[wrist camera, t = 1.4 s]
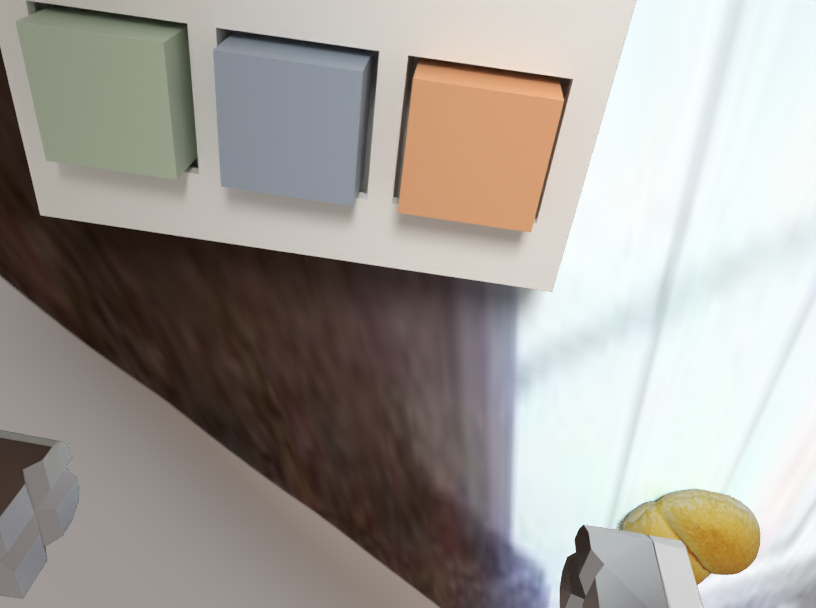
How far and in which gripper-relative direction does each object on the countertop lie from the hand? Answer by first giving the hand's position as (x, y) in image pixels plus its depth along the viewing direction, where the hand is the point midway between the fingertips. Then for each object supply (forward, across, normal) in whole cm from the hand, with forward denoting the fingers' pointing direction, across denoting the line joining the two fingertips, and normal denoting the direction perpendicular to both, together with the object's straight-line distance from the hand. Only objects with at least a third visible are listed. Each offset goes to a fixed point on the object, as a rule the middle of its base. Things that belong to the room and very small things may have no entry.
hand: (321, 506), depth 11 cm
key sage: (+23, +14, +2) cm, 27 cm away
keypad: (+26, +6, +2) cm, 26 cm away
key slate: (+23, +6, +2) cm, 24 cm away
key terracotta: (+23, -2, +2) cm, 23 cm away
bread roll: (+27, -22, +30) cm, 46 cm away
